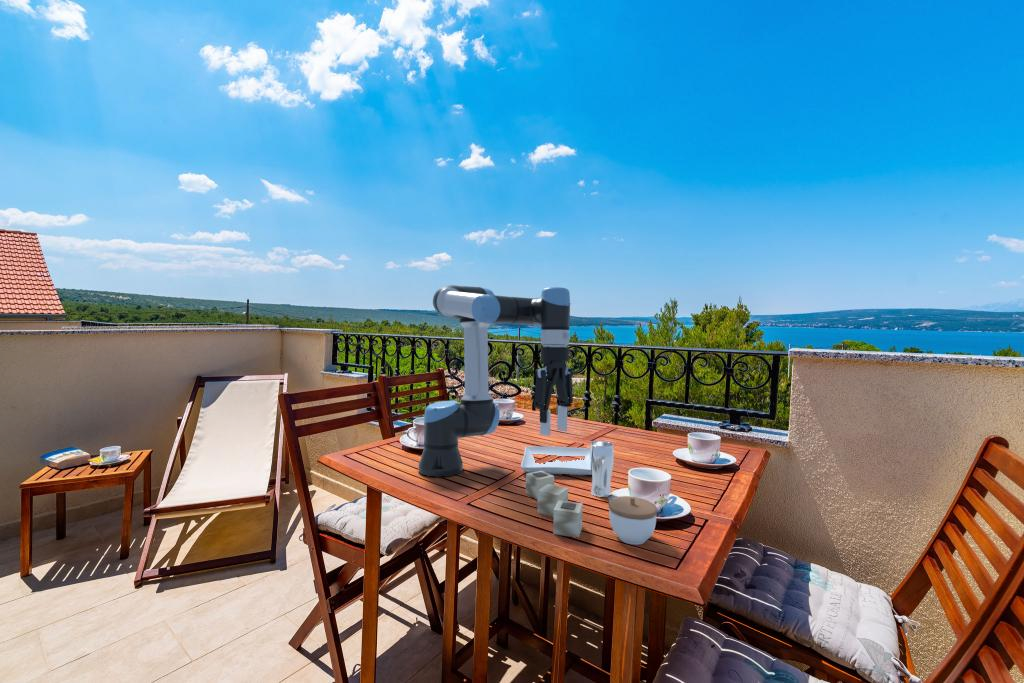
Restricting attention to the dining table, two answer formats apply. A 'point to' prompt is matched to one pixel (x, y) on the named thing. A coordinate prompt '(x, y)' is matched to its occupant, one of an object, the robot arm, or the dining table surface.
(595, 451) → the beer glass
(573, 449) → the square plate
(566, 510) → the marked block
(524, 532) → the dining table surface
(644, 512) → the lidded jar
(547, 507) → the plain block
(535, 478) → the marked block
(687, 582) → the dining table surface
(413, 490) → the dining table surface
